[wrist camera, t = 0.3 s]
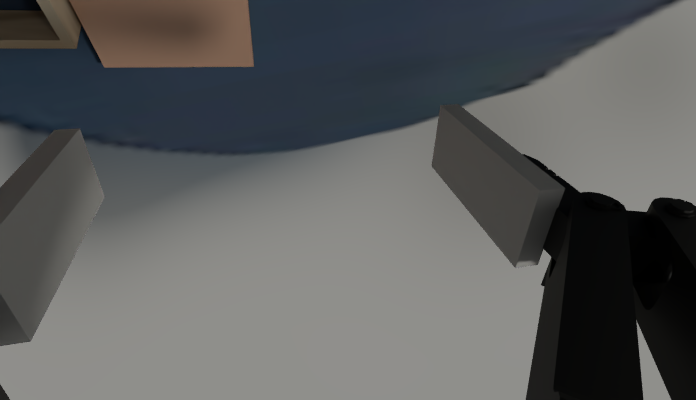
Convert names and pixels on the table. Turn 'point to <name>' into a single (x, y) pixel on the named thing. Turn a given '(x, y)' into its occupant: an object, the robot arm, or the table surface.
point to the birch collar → (41, 26)
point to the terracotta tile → (168, 32)
